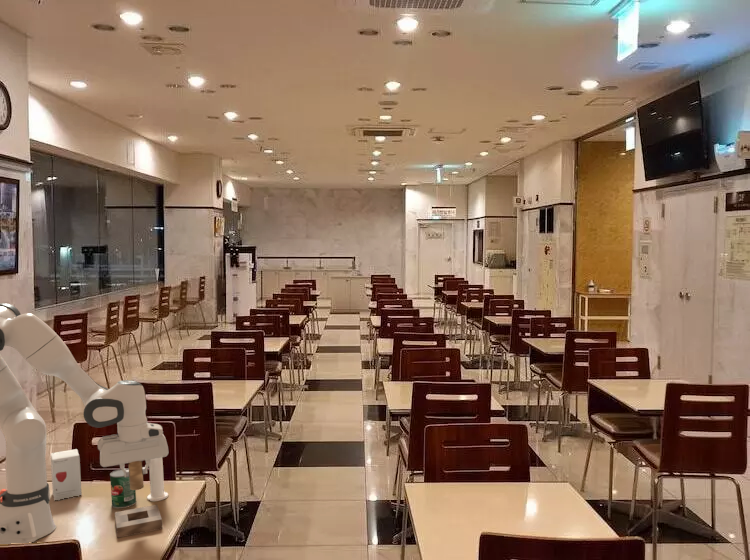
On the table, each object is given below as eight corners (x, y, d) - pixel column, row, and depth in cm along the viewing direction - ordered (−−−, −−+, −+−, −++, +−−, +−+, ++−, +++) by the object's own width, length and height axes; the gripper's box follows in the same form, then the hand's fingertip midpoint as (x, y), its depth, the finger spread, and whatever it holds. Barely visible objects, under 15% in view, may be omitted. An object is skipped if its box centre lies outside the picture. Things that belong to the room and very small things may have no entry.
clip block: (117, 537, 200) (116, 528, 200) (115, 521, 212) (114, 512, 212) (162, 528, 205) (161, 519, 205) (157, 513, 217) (157, 504, 217)
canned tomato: (106, 507, 224) (104, 475, 223) (121, 498, 231) (119, 467, 231) (127, 509, 222) (125, 477, 221) (141, 499, 230) (139, 468, 229)
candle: (142, 499, 230) (138, 428, 228) (158, 492, 236) (154, 423, 234) (157, 502, 226) (153, 430, 225) (172, 495, 233) (168, 425, 231)
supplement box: (54, 501, 231) (51, 459, 230) (52, 493, 238) (49, 452, 237) (82, 496, 235) (79, 454, 234) (79, 488, 243) (77, 448, 242)
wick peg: (130, 491, 205) (128, 462, 205) (129, 486, 209) (127, 459, 208) (144, 488, 207) (142, 460, 206) (143, 484, 211) (141, 456, 210)
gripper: (97, 439, 200) (100, 484, 201) (167, 429, 208) (170, 472, 209) (96, 434, 205) (100, 478, 206) (165, 424, 214) (168, 466, 215)
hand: (136, 475), depth 208 cm, fingers closed on wick peg, 4 cm apart
